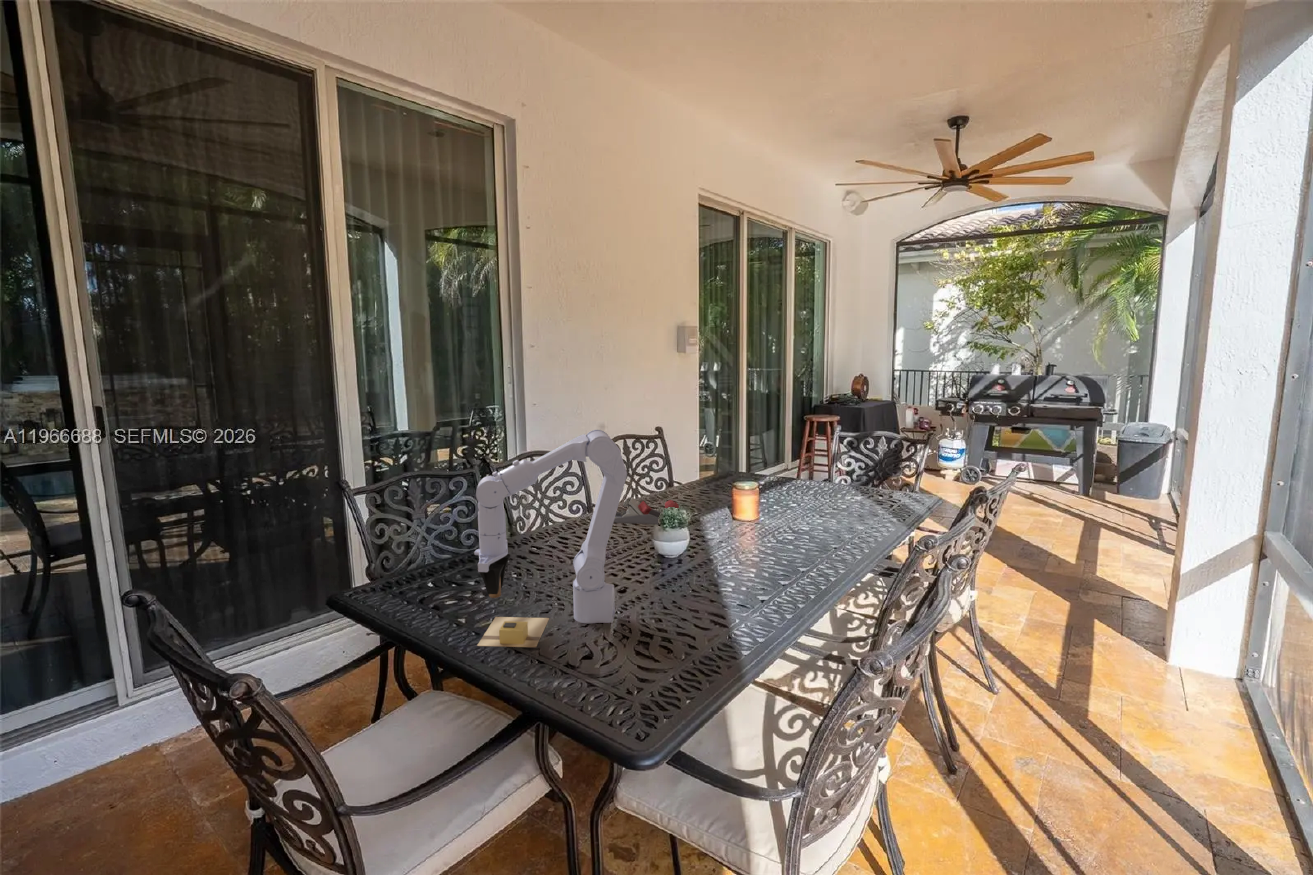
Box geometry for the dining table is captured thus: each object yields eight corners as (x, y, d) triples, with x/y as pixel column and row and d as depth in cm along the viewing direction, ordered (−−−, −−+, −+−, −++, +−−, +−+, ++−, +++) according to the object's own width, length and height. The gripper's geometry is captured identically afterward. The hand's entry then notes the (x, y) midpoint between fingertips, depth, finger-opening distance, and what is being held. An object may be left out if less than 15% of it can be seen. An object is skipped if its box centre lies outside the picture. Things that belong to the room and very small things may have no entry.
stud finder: (528, 634, 133) (527, 620, 132) (523, 644, 129) (522, 629, 128) (505, 634, 133) (504, 620, 132) (499, 643, 129) (499, 629, 128)
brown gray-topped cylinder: (502, 593, 137) (501, 567, 136) (499, 598, 134) (498, 572, 133) (491, 592, 137) (489, 567, 136) (487, 597, 135) (486, 572, 133)
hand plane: (593, 516, 221) (593, 476, 218) (679, 519, 218) (679, 478, 215) (589, 522, 214) (588, 480, 211) (678, 525, 211) (678, 483, 208)
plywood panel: (549, 622, 141) (549, 618, 140) (536, 652, 128) (536, 647, 128) (495, 621, 141) (495, 616, 141) (477, 651, 128) (476, 645, 128)
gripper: (485, 521, 140) (487, 576, 143) (462, 542, 126) (465, 604, 129) (515, 521, 140) (517, 577, 143) (496, 543, 126) (498, 605, 128)
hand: (495, 590), depth 136 cm, fingers closed on brown gray-topped cylinder, 3 cm apart
